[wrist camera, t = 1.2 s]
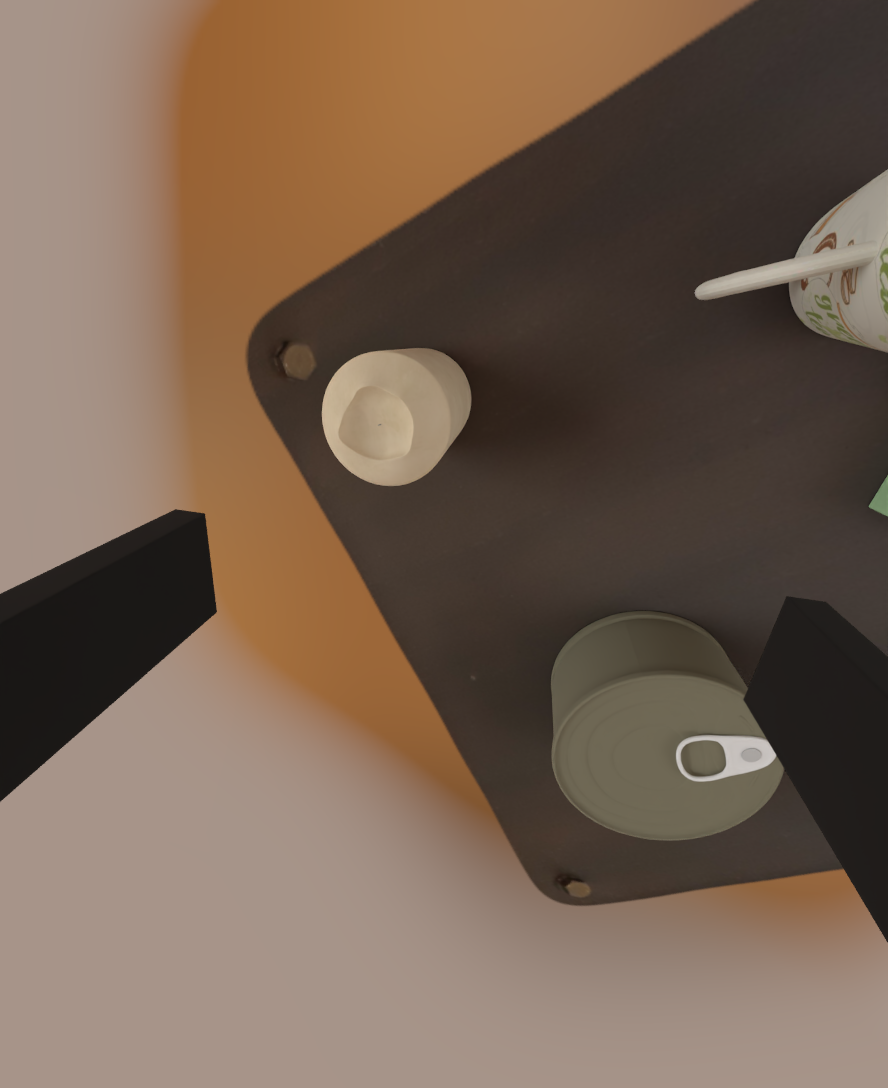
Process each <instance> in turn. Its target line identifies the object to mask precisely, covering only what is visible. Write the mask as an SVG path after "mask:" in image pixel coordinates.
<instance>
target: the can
mask: <svg viewBox="0 0 888 1088" xmlns="http://www.w3.org/2000/svg"><path fill="white" fill-rule="evenodd" d="M747 690H748V688H747V686H746V685H745V683H744V682H743V680H742V678H741V677H740V675H739V674H738V672H737V671H736V669H735V668H734V666H733V665H732V663H731V662H730V660H729V658H728V656H727V654H726V653H725V651H724V650H723V648H722V647H721V645H720V644H719V643H718V642H717V641H716V639H715V638H714V637H712V636H711V635H710V634H709V633H708V632H707V631H705V630H704V629H703V628H701V627H700V626H698V625H696V624H695V623H693V622H691V621H689V620H687V619H684V618H681V617H679V616H675V615H672V614H668V613H662V612H655V611H631V612H624V613H619V614H615V615H611V616H608V617H605V618H602V619H600V620H597V621H595V622H593V623H591V624H589V625H588V626H586V627H584V628H583V629H581V630H580V631H579V632H577V633H576V634H575V635H574V636H573V637H572V638H571V639H570V640H569V641H568V642H567V643H566V644H565V645H564V647H563V648H562V650H561V651H560V653H559V654H558V656H557V658H556V661H555V663H554V666H553V670H552V675H551V693H552V711H553V732H554V738H553V743H552V765H553V770H554V774H555V777H556V780H557V782H558V784H559V786H560V788H561V790H562V792H563V793H564V795H565V796H566V797H567V799H568V800H569V801H570V802H571V803H572V804H573V805H574V806H575V807H576V808H577V809H578V810H579V811H580V812H582V813H583V814H584V815H586V816H587V817H589V818H590V819H591V820H593V821H595V822H597V823H598V824H600V825H602V826H604V827H606V828H609V829H611V830H614V831H616V832H619V833H622V834H626V835H629V836H634V837H638V838H644V839H652V840H686V839H694V838H700V837H704V836H708V835H712V834H715V833H718V832H722V831H724V830H727V829H729V828H731V827H733V826H735V825H737V824H739V823H741V822H743V821H744V820H746V819H748V818H749V817H751V816H752V815H753V814H755V813H756V812H757V811H758V810H759V809H761V808H762V807H763V806H764V805H765V804H766V802H767V801H768V800H769V799H770V798H771V796H772V795H773V794H774V792H775V790H776V789H777V787H778V785H779V783H780V780H781V778H782V775H783V771H784V767H783V766H782V764H781V762H780V761H779V759H778V757H777V756H776V754H775V752H774V751H773V749H772V747H771V745H770V744H769V742H768V740H767V739H766V737H765V735H764V734H763V732H762V730H761V729H760V727H759V725H758V724H757V722H756V720H755V719H754V717H753V715H752V714H751V712H750V710H749V708H748V707H747V705H746V703H745V702H744V700H743V699H744V697H745V694H746V692H747Z"/></svg>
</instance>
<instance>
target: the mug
mask: <svg viewBox="0 0 888 1088" xmlns="http://www.w3.org/2000/svg"><path fill="white" fill-rule="evenodd" d="M787 282H789V294H790V299H791V303H792V306H793V309H794V311H795V313H796V314H797V316H798V317H799V319H800V320H801V321H802V322H803V323H804V324H805V325H806V326H807V327H808V328H810V329H811V330H813V331H815V332H817V333H819V334H821V335H824V336H827V337H830V338H834V339H838V340H841V341H845V342H849V343H853V344H857V345H861V346H864V347H868V348H872V349H876V350H880V351H884V352H888V170H886V171H885V172H883V173H882V174H880V175H879V176H878V177H876V178H875V179H873V180H872V181H871V182H869V183H868V184H866V185H865V186H863V187H862V188H861V189H859V190H858V191H856V192H855V193H853V194H852V195H851V196H849V197H848V198H846V199H845V200H843V201H842V202H841V203H839V204H838V205H837V206H835V207H834V208H833V209H831V210H830V211H829V212H828V213H827V214H826V215H824V216H823V217H822V218H821V219H820V220H819V221H818V222H817V223H816V224H815V225H814V227H813V228H812V229H811V230H810V232H809V233H808V234H807V236H806V237H805V239H804V240H803V242H802V244H801V245H800V247H799V249H798V251H797V253H796V256H795V258H793V259H789V260H785V261H781V262H777V263H773V264H769V265H765V266H761V267H757V268H753V269H749V270H744V271H739V272H736V273H733V274H730V275H726V276H723V277H720V278H716V279H713V280H710V281H706V282H705V283H703V284H701V285H699V286H698V288H697V289H696V291H695V296H696V297H697V298H698V299H701V300H709V299H714V298H719V297H723V296H728V295H732V294H737V293H742V292H746V291H751V290H755V289H760V288H764V287H769V286H774V285H778V284H783V283H787Z"/></svg>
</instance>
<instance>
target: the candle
mask: <svg viewBox="0 0 888 1088" xmlns="http://www.w3.org/2000/svg"><path fill="white" fill-rule="evenodd" d="M470 409H471V391H470V386H469V383H468V380H467V378H466V376H465V374H464V372H463V371H462V369H461V368H460V366H459V365H458V364H457V363H456V362H455V361H454V360H453V359H452V358H450V357H449V356H447V355H446V354H444V353H442V352H440V351H437V350H434V349H428V348H411V349H398V350H385V351H375V352H369V353H365V354H361V355H359V356H357V357H355V358H353V359H351V360H350V361H348V362H347V363H345V364H344V365H343V366H342V367H341V368H340V369H339V370H338V371H337V372H336V373H335V375H334V376H333V378H332V379H331V381H330V383H329V385H328V387H327V389H326V392H325V395H324V400H323V405H322V422H323V428H324V432H325V436H326V439H327V441H328V443H329V446H330V448H331V449H332V451H333V453H334V454H335V456H336V457H337V459H338V460H339V461H340V462H341V463H342V464H343V465H344V466H345V467H346V468H347V469H348V470H349V471H350V472H352V473H353V474H354V475H356V476H358V477H359V478H361V479H363V480H365V481H368V482H371V483H373V484H378V485H383V486H399V485H404V484H408V483H411V482H414V481H416V480H418V479H420V478H421V477H423V476H424V475H426V474H427V473H428V472H429V471H430V470H432V469H433V468H434V466H435V465H436V464H437V463H438V462H439V460H440V459H441V458H442V456H443V455H444V454H445V452H446V451H447V450H448V448H449V447H450V445H451V444H452V443H453V441H454V440H455V439H456V437H457V436H458V435H459V433H460V432H461V430H462V429H463V427H464V425H465V424H466V421H467V419H468V417H469V413H470Z"/></svg>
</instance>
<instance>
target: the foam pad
mask: <svg viewBox="0 0 888 1088" xmlns="http://www.w3.org/2000/svg"><path fill="white" fill-rule="evenodd" d="M869 508H871V509H873V510H875V511H877V512H879V513H881V514H883V515H885V516H887V517H888V475H887V477H886V479H885V480H884V482H883V484H882V485H881V487H880V488H879V490H878V492H877V493H876V495H875V497H874V498H873V500H872V502H871V503H870V505H869Z"/></svg>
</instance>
